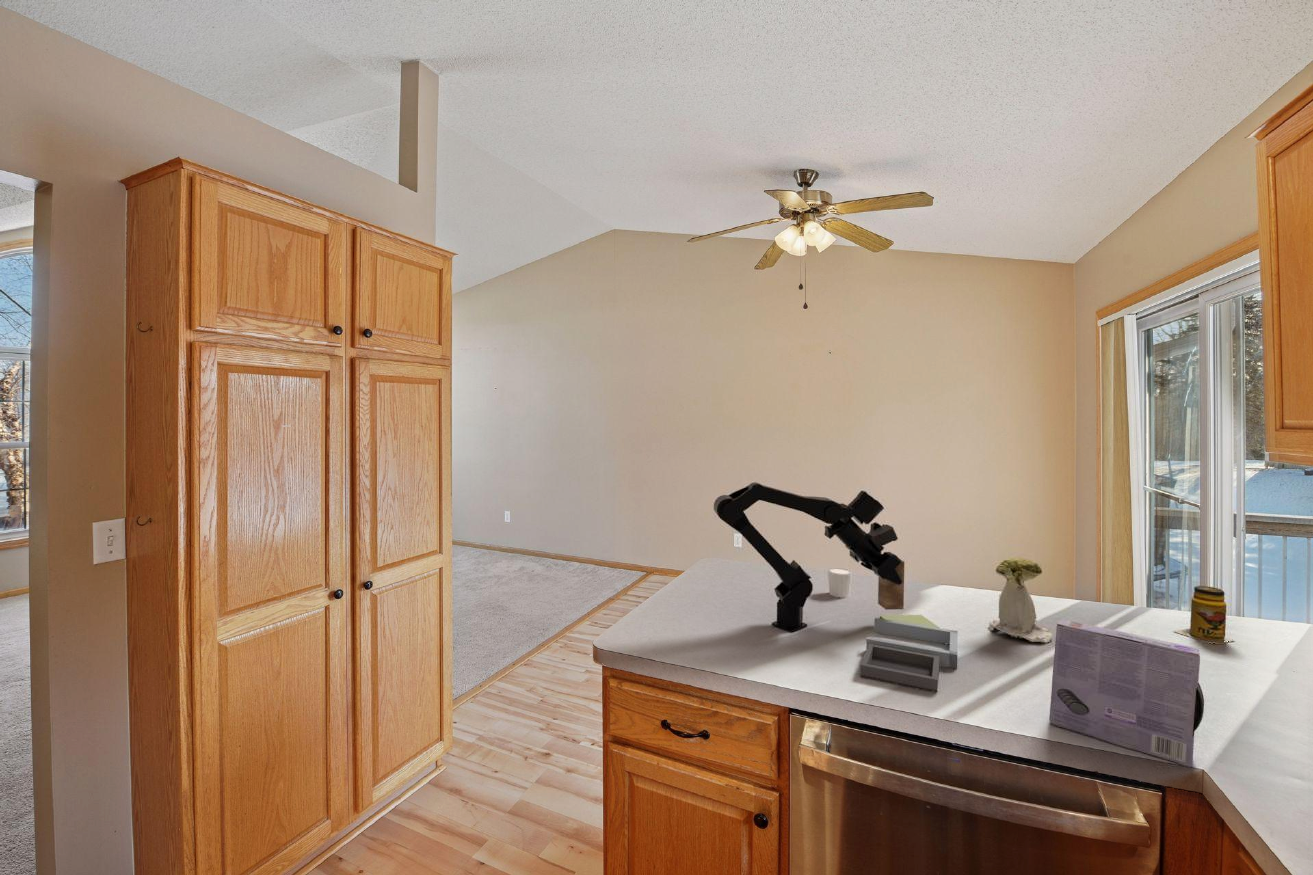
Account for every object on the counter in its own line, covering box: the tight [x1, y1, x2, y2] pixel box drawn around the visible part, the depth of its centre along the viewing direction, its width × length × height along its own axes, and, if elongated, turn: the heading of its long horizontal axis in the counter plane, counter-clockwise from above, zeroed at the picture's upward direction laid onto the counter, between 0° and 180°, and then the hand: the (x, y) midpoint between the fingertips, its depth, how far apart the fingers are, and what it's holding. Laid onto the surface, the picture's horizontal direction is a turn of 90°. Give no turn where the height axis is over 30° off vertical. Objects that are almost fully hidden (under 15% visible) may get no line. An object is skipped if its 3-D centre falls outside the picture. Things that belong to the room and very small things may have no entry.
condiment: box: [1172, 585, 1236, 645], centre depth 138 cm, size 7×8×12 cm
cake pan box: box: [1048, 618, 1205, 768], centre depth 94 cm, size 19×5×18 cm, turn 48°
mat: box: [879, 614, 940, 628], centre depth 146 cm, size 11×11×1 cm
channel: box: [865, 617, 959, 670], centre depth 131 cm, size 18×15×3 cm
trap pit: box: [859, 644, 940, 693], centre depth 119 cm, size 14×12×2 cm
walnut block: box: [877, 558, 905, 611], centre depth 145 cm, size 4×4×12 cm
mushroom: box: [988, 557, 1053, 644], centre depth 139 cm, size 12×13×18 cm
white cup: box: [827, 567, 853, 599], centre depth 170 cm, size 7×7×7 cm
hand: (896, 580), depth 145 cm, fingers closed on walnut block, 4 cm apart
